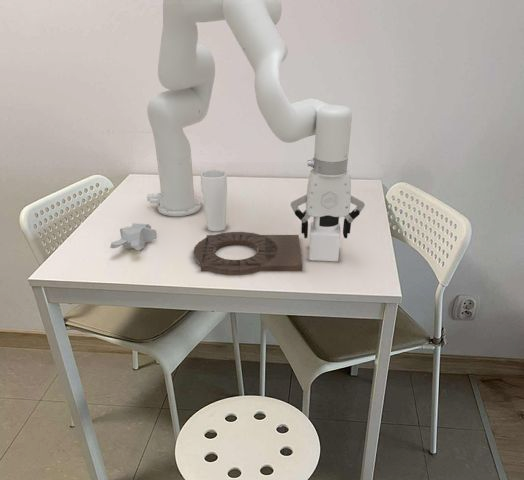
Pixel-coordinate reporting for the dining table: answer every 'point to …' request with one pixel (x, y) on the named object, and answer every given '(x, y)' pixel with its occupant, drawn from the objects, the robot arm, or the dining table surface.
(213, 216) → the drinking glass
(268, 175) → the dining table surface
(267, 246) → the holder board
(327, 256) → the medicine bottle
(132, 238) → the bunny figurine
